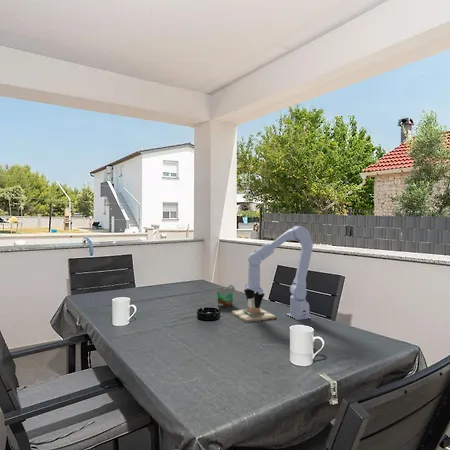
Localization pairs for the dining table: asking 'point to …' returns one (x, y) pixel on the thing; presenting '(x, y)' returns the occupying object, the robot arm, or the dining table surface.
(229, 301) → the food container
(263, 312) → the board
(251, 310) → the white brown rectangular block
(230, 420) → the dining table surface
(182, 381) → the dining table surface
